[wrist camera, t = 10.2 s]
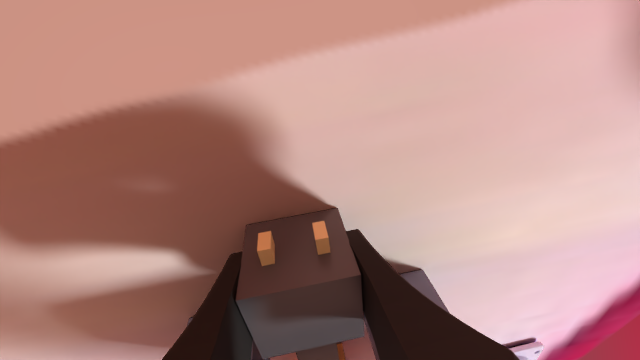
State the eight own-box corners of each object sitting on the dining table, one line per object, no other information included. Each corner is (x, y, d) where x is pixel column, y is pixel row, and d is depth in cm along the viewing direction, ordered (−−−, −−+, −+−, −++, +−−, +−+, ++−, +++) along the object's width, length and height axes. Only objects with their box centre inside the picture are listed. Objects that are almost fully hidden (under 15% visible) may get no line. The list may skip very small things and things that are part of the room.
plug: (353, 361, 20) (369, 428, 17) (297, 374, 20) (302, 445, 17) (336, 194, 12) (360, 258, 9) (241, 211, 12) (228, 285, 9)
